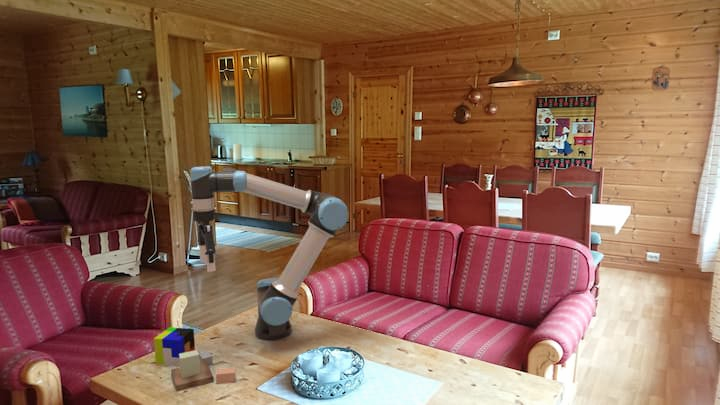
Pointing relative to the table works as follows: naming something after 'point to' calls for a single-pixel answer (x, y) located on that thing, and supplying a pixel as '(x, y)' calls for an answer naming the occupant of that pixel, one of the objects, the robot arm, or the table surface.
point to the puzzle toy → (173, 345)
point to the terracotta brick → (225, 375)
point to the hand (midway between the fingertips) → (207, 266)
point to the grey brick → (205, 357)
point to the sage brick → (189, 363)
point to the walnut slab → (192, 377)
